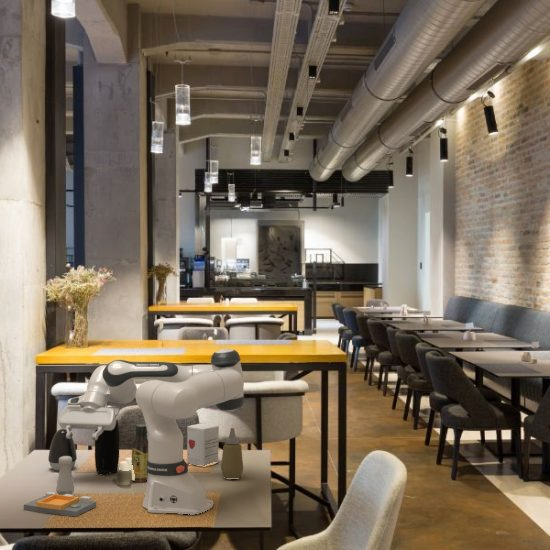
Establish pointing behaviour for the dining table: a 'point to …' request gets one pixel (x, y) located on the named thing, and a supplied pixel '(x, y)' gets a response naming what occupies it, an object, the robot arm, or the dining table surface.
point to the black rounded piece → (61, 449)
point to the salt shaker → (65, 476)
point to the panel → (61, 504)
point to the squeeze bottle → (232, 457)
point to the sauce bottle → (140, 453)
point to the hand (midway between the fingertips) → (81, 438)
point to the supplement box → (202, 444)
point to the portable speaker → (107, 451)
